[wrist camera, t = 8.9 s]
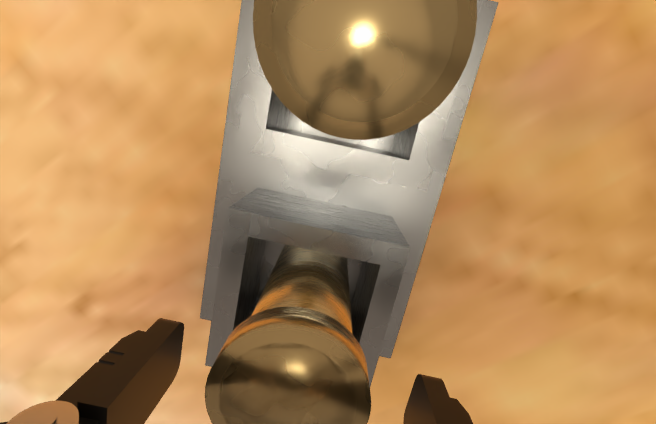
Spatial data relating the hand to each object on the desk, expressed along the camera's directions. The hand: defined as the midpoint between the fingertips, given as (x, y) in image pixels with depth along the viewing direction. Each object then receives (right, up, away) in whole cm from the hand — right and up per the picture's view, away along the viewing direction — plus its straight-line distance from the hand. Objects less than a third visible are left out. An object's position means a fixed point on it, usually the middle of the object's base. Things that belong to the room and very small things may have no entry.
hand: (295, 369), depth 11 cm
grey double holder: (+1, +7, +8) cm, 11 cm away
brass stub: (0, +2, +8) cm, 8 cm away
